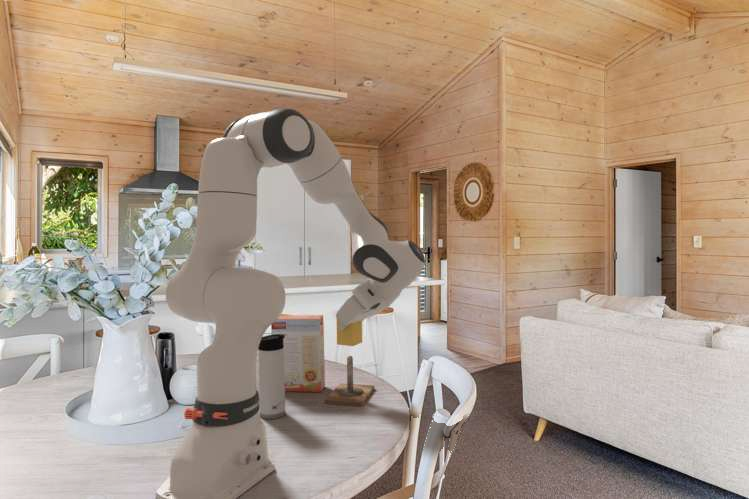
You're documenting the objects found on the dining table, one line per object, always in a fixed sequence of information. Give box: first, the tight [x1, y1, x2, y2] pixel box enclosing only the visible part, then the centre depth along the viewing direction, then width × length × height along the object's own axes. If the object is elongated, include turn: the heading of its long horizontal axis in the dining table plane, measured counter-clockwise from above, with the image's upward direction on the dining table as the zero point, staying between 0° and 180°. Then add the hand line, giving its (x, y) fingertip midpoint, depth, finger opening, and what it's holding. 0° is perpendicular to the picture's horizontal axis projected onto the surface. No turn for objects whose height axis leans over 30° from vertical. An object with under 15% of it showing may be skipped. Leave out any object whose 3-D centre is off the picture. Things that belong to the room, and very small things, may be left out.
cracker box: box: [270, 314, 326, 393], centre depth 148 cm, size 14×6×21 cm, turn 84°
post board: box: [324, 355, 375, 407], centre depth 142 cm, size 14×10×11 cm
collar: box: [336, 318, 363, 347], centre depth 141 cm, size 5×5×8 cm
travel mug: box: [257, 334, 286, 420], centre depth 129 cm, size 6×7×20 cm
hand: (347, 326), depth 142 cm, fingers closed on collar, 5 cm apart
